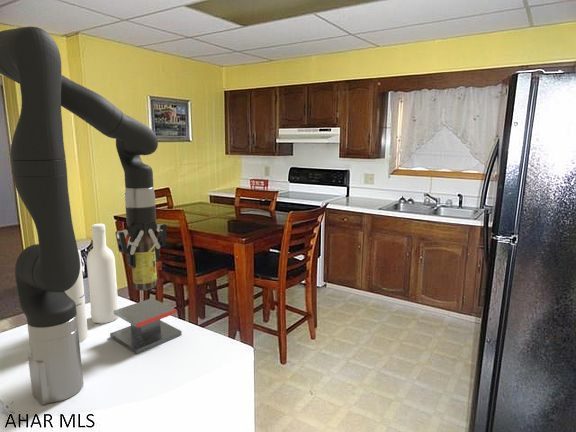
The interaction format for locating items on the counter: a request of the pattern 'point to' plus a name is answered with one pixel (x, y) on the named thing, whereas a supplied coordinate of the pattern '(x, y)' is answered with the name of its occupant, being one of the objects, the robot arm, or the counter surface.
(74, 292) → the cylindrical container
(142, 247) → the sauce bottle
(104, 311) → the bottle
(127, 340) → the grey piece
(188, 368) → the counter surface
